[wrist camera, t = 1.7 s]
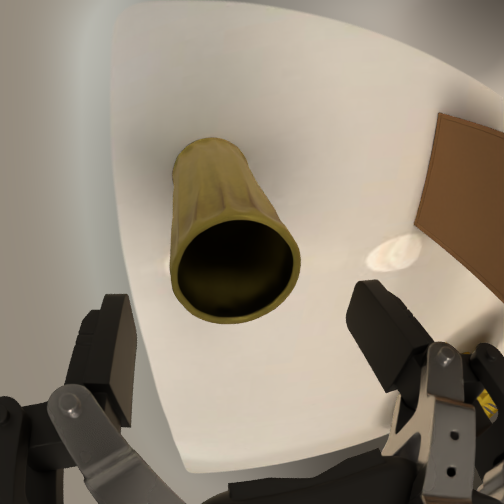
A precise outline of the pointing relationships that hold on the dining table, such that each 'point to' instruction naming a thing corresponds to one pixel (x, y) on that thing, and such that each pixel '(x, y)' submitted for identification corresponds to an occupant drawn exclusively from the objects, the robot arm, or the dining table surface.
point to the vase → (227, 238)
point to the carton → (467, 198)
